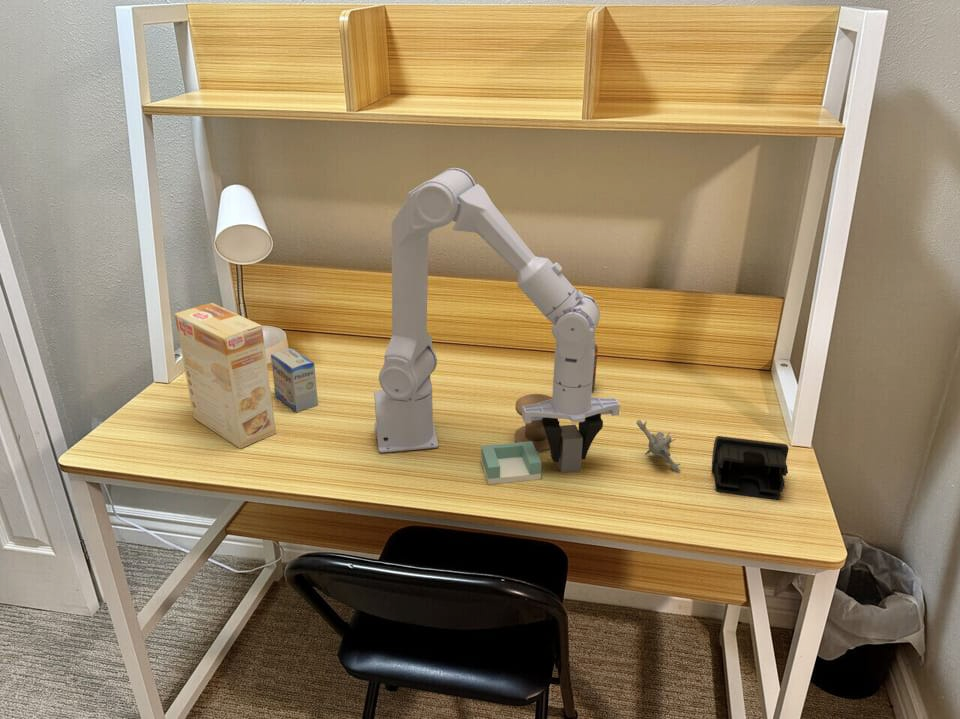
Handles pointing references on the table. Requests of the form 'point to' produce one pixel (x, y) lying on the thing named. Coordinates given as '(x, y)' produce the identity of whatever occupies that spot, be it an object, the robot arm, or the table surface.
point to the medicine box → (294, 379)
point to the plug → (570, 449)
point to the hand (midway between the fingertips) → (567, 457)
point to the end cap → (749, 467)
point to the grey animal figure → (659, 445)
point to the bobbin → (532, 424)
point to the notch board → (510, 462)
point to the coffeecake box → (226, 373)
